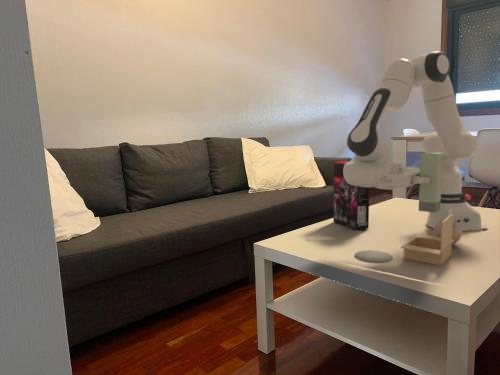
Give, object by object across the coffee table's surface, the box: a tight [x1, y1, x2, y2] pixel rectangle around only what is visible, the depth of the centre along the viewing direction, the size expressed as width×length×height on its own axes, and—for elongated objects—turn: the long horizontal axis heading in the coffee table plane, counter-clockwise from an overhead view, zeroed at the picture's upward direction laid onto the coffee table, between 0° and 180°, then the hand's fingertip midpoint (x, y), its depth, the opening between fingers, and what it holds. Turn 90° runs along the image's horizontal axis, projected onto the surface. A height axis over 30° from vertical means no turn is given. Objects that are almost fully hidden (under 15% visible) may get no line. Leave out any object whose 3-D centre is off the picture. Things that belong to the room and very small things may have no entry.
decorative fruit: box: [432, 220, 463, 245], centre depth 138 cm, size 9×8×10 cm
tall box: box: [418, 151, 443, 213], centre depth 123 cm, size 5×5×18 cm
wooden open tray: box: [400, 214, 454, 266], centre depth 126 cm, size 11×17×14 cm, turn 139°
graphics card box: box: [333, 160, 370, 231], centre depth 168 cm, size 17×7×27 cm, turn 23°
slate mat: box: [354, 250, 394, 264], centre depth 129 cm, size 12×12×1 cm
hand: (433, 179), depth 123 cm, fingers closed on tall box, 5 cm apart
